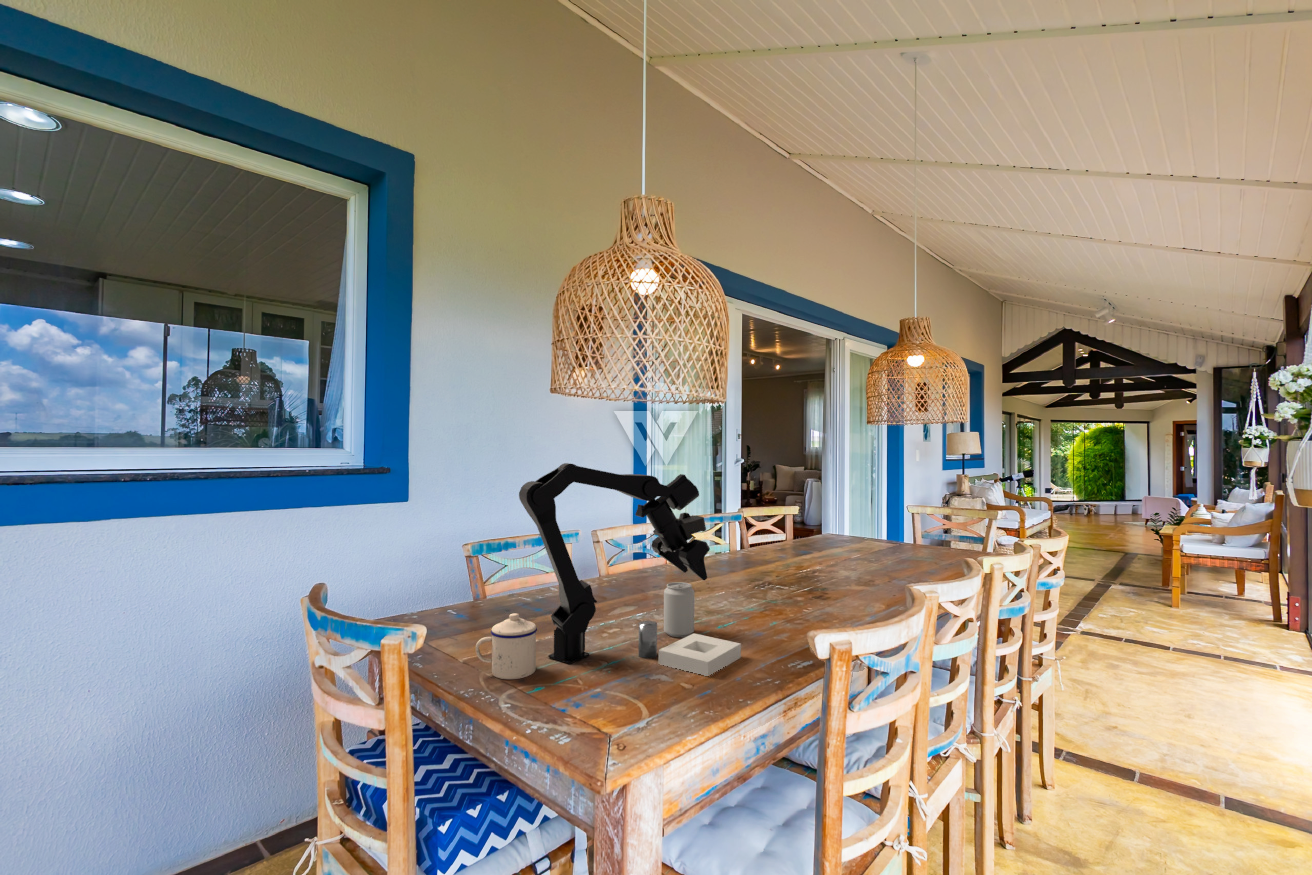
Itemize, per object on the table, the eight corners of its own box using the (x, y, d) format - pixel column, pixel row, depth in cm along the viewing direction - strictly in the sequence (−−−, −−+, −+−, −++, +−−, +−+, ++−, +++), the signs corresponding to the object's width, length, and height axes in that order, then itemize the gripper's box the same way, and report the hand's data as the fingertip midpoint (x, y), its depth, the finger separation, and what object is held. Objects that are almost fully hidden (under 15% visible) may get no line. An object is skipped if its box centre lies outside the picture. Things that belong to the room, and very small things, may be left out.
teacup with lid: (535, 662, 132) (536, 607, 132) (537, 678, 123) (537, 619, 123) (476, 666, 129) (477, 610, 129) (474, 683, 120) (474, 622, 120)
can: (658, 635, 151) (658, 585, 151) (671, 627, 157) (672, 579, 157) (686, 640, 147) (686, 589, 147) (699, 631, 154) (699, 582, 154)
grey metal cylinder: (649, 659, 134) (649, 627, 134) (634, 656, 136) (635, 623, 136) (660, 654, 137) (660, 622, 137) (645, 651, 139) (645, 619, 139)
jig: (707, 677, 124) (708, 661, 124) (658, 664, 131) (658, 649, 131) (740, 657, 136) (740, 643, 136) (693, 646, 143) (693, 633, 143)
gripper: (710, 505, 140) (741, 561, 144) (671, 498, 157) (700, 548, 160) (673, 535, 136) (706, 592, 139) (637, 524, 152) (668, 575, 156)
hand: (695, 575), depth 149 cm, fingers open, 9 cm apart
